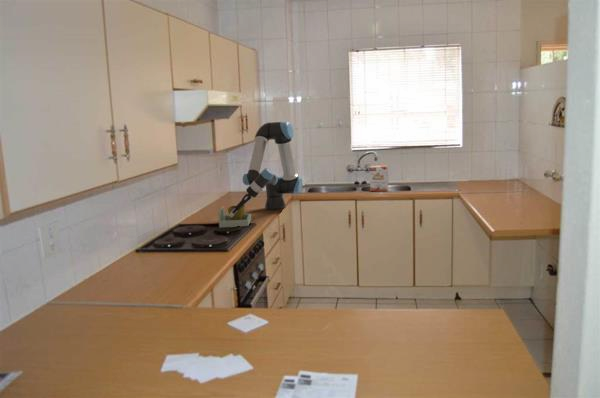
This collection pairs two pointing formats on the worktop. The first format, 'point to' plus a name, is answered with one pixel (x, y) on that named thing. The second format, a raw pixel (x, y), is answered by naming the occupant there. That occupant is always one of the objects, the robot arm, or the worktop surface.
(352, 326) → the worktop surface
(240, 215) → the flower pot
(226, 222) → the pale green open box
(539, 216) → the worktop surface
